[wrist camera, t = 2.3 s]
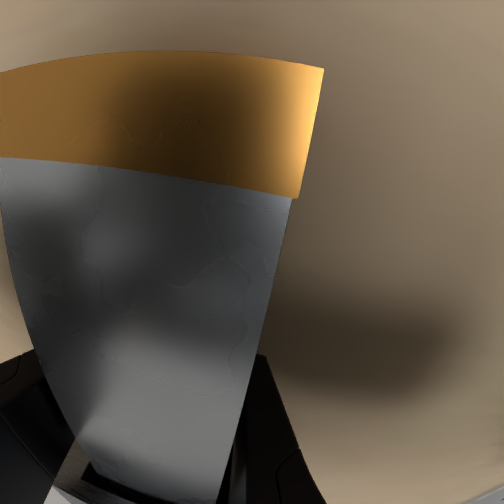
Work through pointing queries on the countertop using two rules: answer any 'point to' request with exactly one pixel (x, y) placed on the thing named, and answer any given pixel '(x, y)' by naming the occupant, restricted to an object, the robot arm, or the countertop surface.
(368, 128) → the countertop surface
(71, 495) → the sleeve
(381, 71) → the countertop surface
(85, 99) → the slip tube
